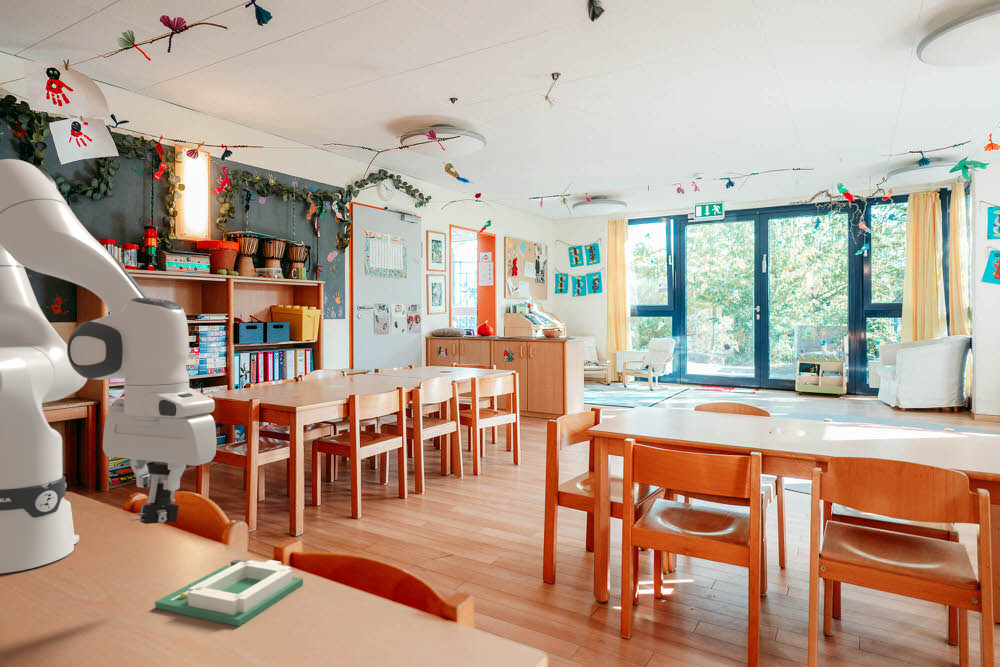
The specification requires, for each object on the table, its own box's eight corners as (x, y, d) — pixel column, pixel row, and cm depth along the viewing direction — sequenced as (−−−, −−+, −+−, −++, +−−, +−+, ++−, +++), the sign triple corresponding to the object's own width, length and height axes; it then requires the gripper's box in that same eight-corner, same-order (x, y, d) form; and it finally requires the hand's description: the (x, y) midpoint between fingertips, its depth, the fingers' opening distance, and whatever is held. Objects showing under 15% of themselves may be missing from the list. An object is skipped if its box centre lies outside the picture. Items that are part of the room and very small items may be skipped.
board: (155, 608, 87) (155, 588, 87) (228, 569, 101) (228, 552, 101) (239, 626, 82) (239, 605, 82) (304, 583, 95) (304, 565, 95)
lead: (230, 568, 101) (230, 562, 101) (235, 566, 102) (235, 559, 102) (277, 577, 98) (277, 570, 98) (281, 574, 99) (282, 567, 99)
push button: (137, 526, 86) (149, 458, 88) (122, 521, 89) (133, 455, 91) (182, 523, 91) (193, 459, 93) (166, 518, 94) (176, 456, 96)
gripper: (90, 400, 91) (91, 487, 91) (189, 406, 84) (190, 500, 84) (128, 395, 97) (128, 477, 97) (223, 401, 90) (223, 489, 90)
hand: (158, 488), depth 91 cm, fingers closed on push button, 4 cm apart
